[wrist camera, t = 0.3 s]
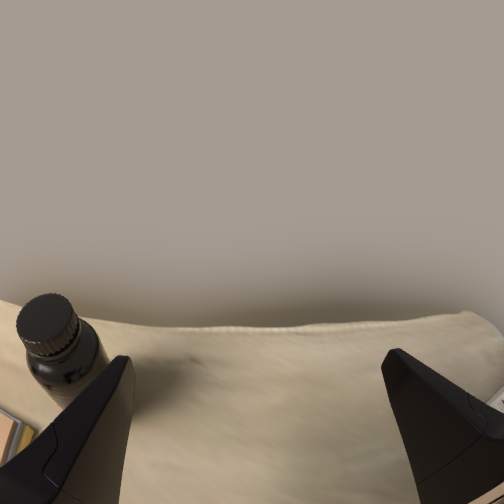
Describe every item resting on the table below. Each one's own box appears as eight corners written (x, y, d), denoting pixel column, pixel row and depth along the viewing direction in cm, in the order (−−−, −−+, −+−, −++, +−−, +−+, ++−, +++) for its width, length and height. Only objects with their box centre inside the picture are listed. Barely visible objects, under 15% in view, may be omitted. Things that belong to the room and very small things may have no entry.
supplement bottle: (59, 381, 21) (7, 295, 14) (114, 364, 24) (79, 273, 18) (75, 438, 16) (4, 364, 10) (137, 418, 20) (95, 337, 13)
